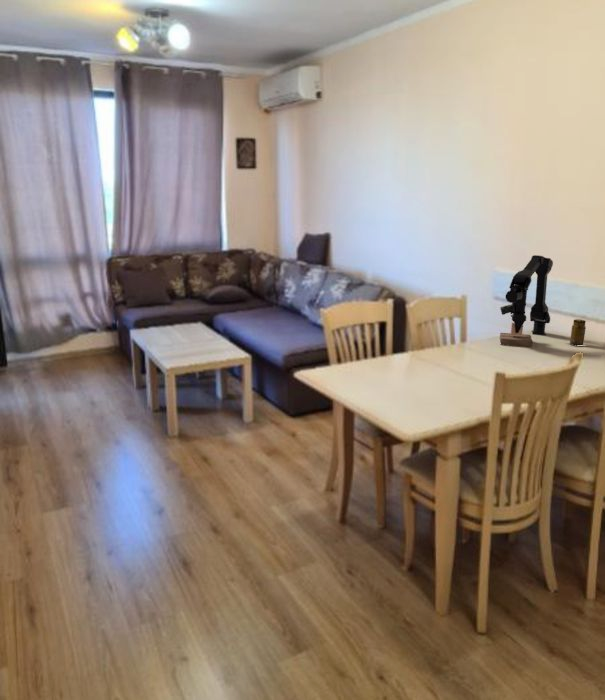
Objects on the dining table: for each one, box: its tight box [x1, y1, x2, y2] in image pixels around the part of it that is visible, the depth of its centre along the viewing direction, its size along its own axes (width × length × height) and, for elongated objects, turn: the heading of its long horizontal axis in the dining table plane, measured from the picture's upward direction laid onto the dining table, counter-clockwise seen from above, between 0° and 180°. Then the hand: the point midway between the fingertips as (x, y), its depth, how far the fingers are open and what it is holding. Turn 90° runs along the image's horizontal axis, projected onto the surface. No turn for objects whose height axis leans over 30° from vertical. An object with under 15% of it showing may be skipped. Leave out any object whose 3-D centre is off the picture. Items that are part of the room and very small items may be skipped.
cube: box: [510, 322, 524, 335], centre depth 292 cm, size 5×5×5 cm
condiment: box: [569, 318, 587, 348], centre depth 290 cm, size 7×8×12 cm
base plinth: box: [499, 332, 533, 348], centre depth 294 cm, size 14×14×3 cm
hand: (516, 331), depth 293 cm, fingers closed on cube, 5 cm apart
